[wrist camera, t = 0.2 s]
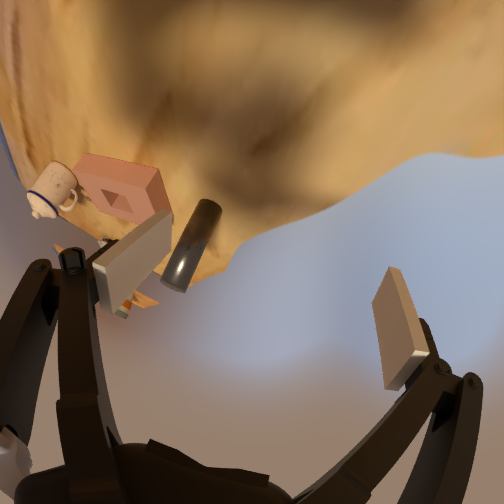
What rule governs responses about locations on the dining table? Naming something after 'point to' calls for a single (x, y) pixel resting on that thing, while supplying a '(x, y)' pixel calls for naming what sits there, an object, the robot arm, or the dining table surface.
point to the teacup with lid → (52, 191)
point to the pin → (191, 246)
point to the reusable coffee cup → (125, 307)
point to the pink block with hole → (122, 187)
